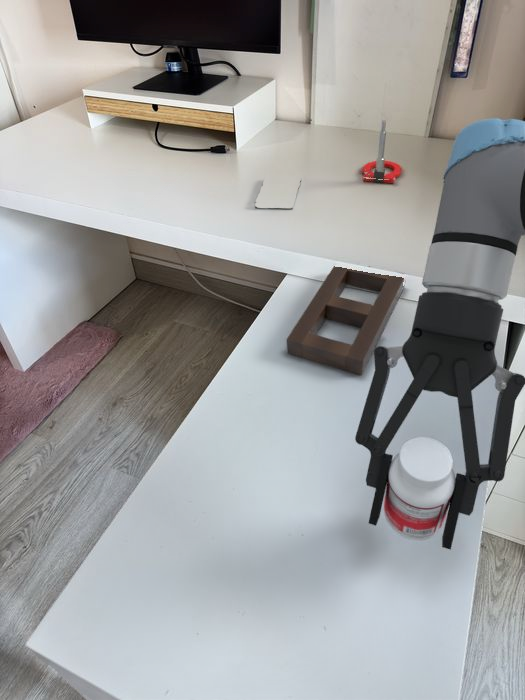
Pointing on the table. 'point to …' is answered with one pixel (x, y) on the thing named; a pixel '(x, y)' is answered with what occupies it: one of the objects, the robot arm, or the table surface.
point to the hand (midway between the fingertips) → (409, 531)
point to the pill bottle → (419, 488)
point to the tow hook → (381, 163)
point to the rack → (345, 319)
